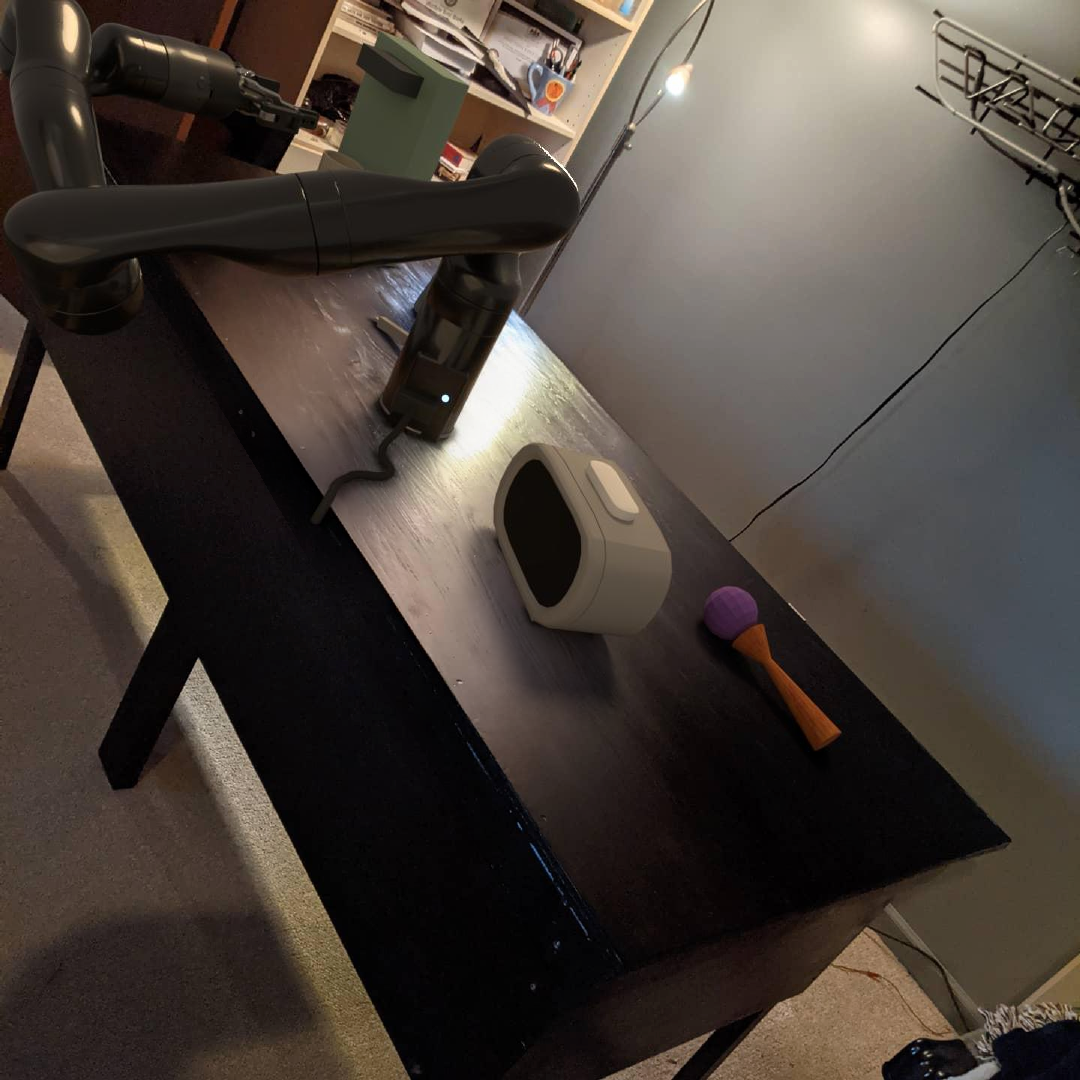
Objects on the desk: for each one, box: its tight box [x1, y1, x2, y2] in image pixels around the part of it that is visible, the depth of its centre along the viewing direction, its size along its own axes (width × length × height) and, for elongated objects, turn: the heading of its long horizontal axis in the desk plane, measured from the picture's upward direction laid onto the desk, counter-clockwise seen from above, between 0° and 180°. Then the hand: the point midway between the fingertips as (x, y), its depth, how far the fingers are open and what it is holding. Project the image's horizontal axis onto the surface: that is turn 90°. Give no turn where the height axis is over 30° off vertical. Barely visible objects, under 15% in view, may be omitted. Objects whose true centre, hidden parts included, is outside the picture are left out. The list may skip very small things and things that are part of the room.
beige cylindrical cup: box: [317, 149, 364, 170], centre depth 126 cm, size 6×6×11 cm
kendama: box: [702, 585, 842, 752], centre depth 91 cm, size 6×6×20 cm
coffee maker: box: [337, 30, 470, 268], centre depth 125 cm, size 16×14×29 cm
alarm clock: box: [492, 441, 673, 638], centre depth 84 cm, size 21×10×13 cm, turn 21°
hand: (296, 105), depth 112 cm, fingers open, 8 cm apart
